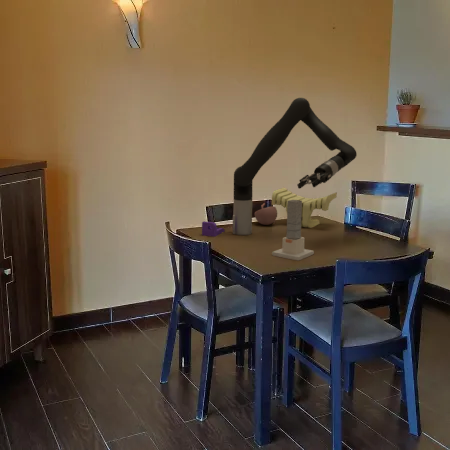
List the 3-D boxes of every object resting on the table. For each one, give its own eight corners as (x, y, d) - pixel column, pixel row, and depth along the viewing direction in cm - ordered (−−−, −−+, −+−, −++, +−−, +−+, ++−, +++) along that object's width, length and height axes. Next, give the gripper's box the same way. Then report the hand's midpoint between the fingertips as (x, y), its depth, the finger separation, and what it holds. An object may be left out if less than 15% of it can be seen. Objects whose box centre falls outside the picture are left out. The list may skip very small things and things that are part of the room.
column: (294, 253, 245) (296, 202, 240) (285, 251, 248) (287, 200, 243) (300, 250, 249) (302, 200, 244) (291, 249, 251) (293, 199, 247)
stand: (298, 260, 240) (298, 243, 238) (272, 255, 247) (272, 238, 246) (313, 254, 250) (314, 237, 248) (288, 249, 257) (288, 232, 256)
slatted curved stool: (271, 224, 308) (271, 191, 304) (283, 219, 321) (284, 187, 317) (324, 231, 293) (325, 196, 289) (335, 225, 306) (336, 192, 303)
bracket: (214, 237, 280) (214, 223, 279) (202, 235, 283) (202, 222, 281) (224, 232, 291) (224, 218, 289) (212, 230, 294) (212, 217, 292)
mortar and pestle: (267, 221, 315) (267, 200, 313) (281, 225, 306) (282, 204, 303) (249, 224, 308) (250, 202, 306) (264, 228, 299) (264, 206, 296)
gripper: (311, 164, 268) (290, 179, 258) (336, 161, 257) (315, 177, 247) (317, 179, 270) (296, 194, 260) (341, 176, 259) (320, 192, 250)
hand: (305, 186), depth 254 cm, fingers open, 8 cm apart
